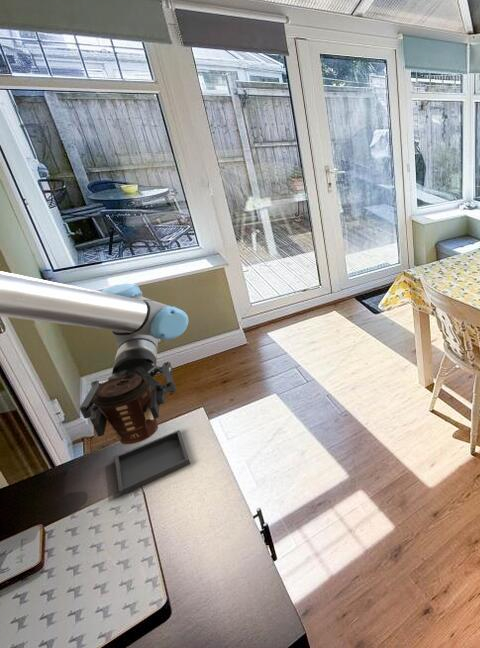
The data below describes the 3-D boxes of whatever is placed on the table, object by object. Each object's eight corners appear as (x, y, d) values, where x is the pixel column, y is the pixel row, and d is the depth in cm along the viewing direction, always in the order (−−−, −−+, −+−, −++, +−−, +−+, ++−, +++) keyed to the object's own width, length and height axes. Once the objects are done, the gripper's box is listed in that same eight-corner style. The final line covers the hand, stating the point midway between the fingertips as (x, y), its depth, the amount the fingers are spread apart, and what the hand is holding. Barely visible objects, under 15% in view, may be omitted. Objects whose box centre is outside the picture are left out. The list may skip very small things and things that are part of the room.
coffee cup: (155, 413, 93) (137, 365, 87) (173, 428, 89) (156, 380, 84) (105, 438, 86) (83, 388, 80) (123, 456, 82) (100, 405, 77)
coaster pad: (121, 497, 84) (118, 491, 83) (116, 462, 92) (114, 456, 91) (191, 465, 92) (188, 459, 91) (181, 435, 99) (179, 429, 98)
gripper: (193, 360, 105) (196, 414, 88) (82, 390, 93) (61, 459, 77) (184, 335, 102) (186, 387, 85) (69, 363, 90) (45, 429, 74)
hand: (127, 421), depth 81 cm, fingers closed on coffee cup, 8 cm apart
